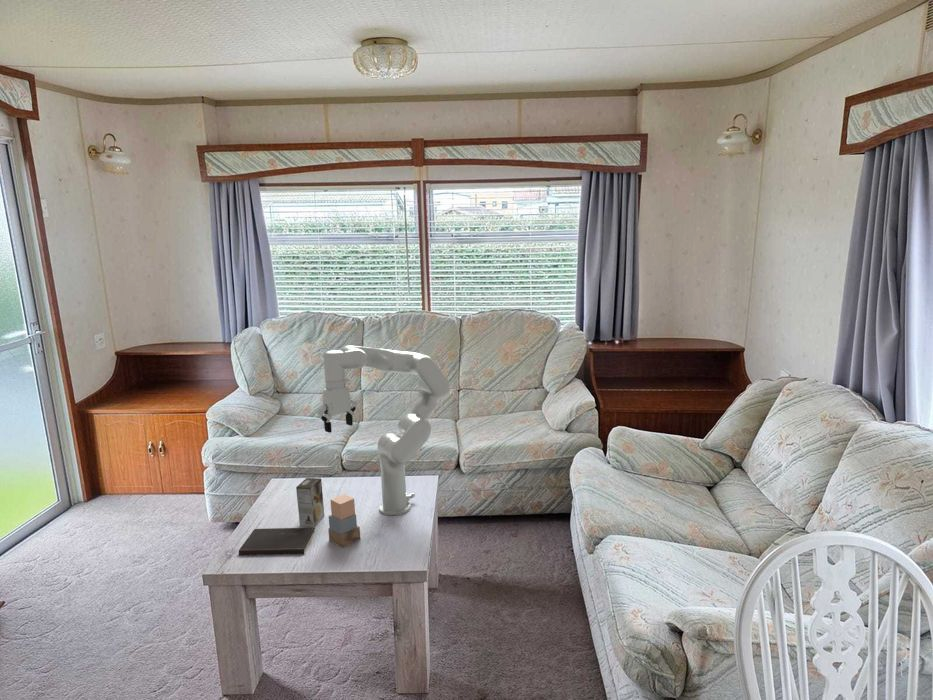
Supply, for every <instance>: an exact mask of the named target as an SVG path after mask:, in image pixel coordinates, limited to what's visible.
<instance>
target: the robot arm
mask: <svg viewBox="0 0 933 700" xmlns="http://www.w3.org/2000/svg"><path fill="white" fill-rule="evenodd" d="M364 367H367V368H368V367H369V368H372V369H376V370H378V371H382V372H387V373H399V374H400V373H401V374H412V375H415V376H418V377H419V378H418V382H417V385H418V386H417V387H418V395H417V398H416V400H415V402H414V403H413V404H412V405H411V406H410V407H409V409H408V410H407V411H406V412H405V413H404V414H403V416H402V417H401V418H400V419H399V421H398V422H397V429H398V431H399V432H400V434H401V435H402V436H401V435H399V434H396V433H395V432H386V433H383V434H382V435H380V437H379V439H378V441H377V453H378V457H379V462H380V463H379V465H380V478H381V479H380V480H381V497H382V503H381V504H380V505H379V506H378V511H379V512H380V513H381V514H383V515H385V516H399V515H400V516H401V515H403V514H405V513H408V512H409V511H410V509H411V503H410V502H409V501H410V500H411V499H413V498H415V496H416V494H415V493H414V492H411V493H408V492H407V486H406V469H405V468H406V466H405V464H406V463H408V462H410V461H411V460H412V459H413V458H414V457H415V456H416V455H417V453H418V452H419V451H420V450H421V449H422V448H423V447H424V445H426V443H427V441H429V438H430V436H431V434H432V426H431V424H430V422H429V421H428V420H429V419H430V418H431V417H432V415H433V414H434V412H435V410H436V408H437V404H438V399H442V398H446V397H447V396H448V394H449V393H450V391H451V384H450V381H449V379H448V378H447V376H446V375H445V374H444V372H442V370H441V368H440V367H439V366H438V365H437V363H436V362H435V361H434V360H433V359H432V357H430V356H429V355H425V354H422V353H419V352H416V351H415V352H414V351H403V350H395V349H393V350H392V349H385V348H374V347H367V346H362V345H361V346H358V345H351V344H350V345H349V344H348V345H343V347H341V348H340V349H331V350H327V351H325V352H323V368H324V369H323V370H324V372H323V373H324V381H325V383H324V384H325V388H323V391H322V392H323V393H322V407H321V408H320V409H319V410H318V411H317V412H316V413H317V416H318V418H319V419H320V420H322V422H323V425H324V426H323V427H324V431H325V432H327V433H332V432H333V431H332V422H331V420H332V417H334V416H335V417H336V416H339V415H341V414H344V413H346V414H345V423H346V424H345V425H347V426H353V424H354V423H353V422H354V421H353V420H354V419H353V416H354V412H355V411H356V408H357V404H358V401H356V400H353V399H352V398H351V393H350V389H349V386H348V385H347V383H348V382H349V378H348V377H347V374H346V373H347V372H346V370H359V369H362V368H364Z"/></svg>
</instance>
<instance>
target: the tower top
mask: <svg viewBox="0 0 933 700" xmlns="http://www.w3.org/2000/svg"><path fill="white" fill-rule="evenodd" d="M357 524H358V521H357V514H356V513H355V514H354V515H352V516H349V517H347V518H345V519H343V520H340V519H338V518H336V517H334V516H333V515H332V514H330V515H328V525H329V527H328V528H329V529H331V530H333V531H335V532H337V533H339V534H341V535H342V534H344V533H346V532H348V531H350V530H352V529H354V528H356V527H357V526H358V525H357Z"/></svg>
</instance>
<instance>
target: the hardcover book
mask: <svg viewBox="0 0 933 700" xmlns="http://www.w3.org/2000/svg"><path fill="white" fill-rule="evenodd" d="M315 531H316V527H281V528H280V527H279V528H278V527H277V528H276V527H275V528H271V527H270V528H254V529H253V530H252V532H251V533H250V534H249V536H248V537H247V538H246V539H245V541H244V542H243V544H242V545H241V547H240V548H239V550H238V556H276V555H277V556H278V555H279V556H282V555H290V556H291V555H305V552H306V549H308V546H309V544H310V542H311V540H312V539H313V537H314V535H315Z"/></svg>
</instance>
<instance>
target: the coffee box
mask: <svg viewBox="0 0 933 700" xmlns="http://www.w3.org/2000/svg"><path fill="white" fill-rule="evenodd" d="M322 482H323V481H322V478H321V477H317V478H315V477H306V478H305V479H304V480H303V481H301V482H300V483H299V484H298V485H297V486H296V487H295V489H296V490H295V491H296V500H297V509H298V510H297V511H298V519H299V520H298V521H299V526H300V527H303V526H304V527H311V528H315V527H316V526H317V525H318V524H319V522H320V521H321V520H322V519H323V518H324V517H325V507H324V493H323V486H322V485H323V484H322Z"/></svg>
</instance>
